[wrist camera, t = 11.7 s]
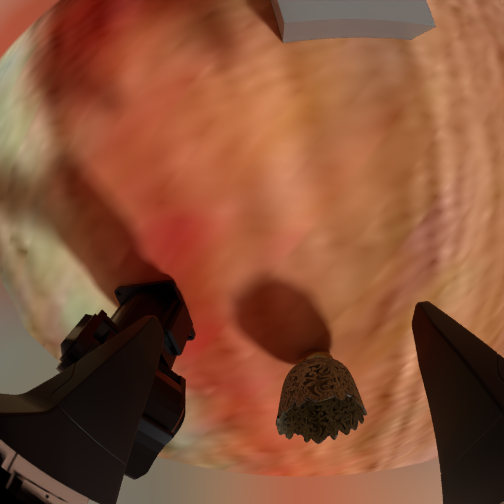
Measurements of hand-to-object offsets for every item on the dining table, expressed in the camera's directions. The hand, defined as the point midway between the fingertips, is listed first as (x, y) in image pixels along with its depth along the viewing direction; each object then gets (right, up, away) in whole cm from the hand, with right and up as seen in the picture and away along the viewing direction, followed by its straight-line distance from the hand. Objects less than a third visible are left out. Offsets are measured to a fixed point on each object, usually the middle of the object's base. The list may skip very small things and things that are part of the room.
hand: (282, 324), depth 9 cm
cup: (+5, -8, +18) cm, 20 cm away
